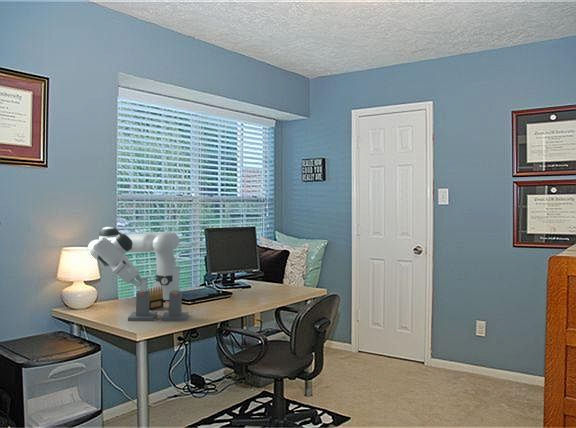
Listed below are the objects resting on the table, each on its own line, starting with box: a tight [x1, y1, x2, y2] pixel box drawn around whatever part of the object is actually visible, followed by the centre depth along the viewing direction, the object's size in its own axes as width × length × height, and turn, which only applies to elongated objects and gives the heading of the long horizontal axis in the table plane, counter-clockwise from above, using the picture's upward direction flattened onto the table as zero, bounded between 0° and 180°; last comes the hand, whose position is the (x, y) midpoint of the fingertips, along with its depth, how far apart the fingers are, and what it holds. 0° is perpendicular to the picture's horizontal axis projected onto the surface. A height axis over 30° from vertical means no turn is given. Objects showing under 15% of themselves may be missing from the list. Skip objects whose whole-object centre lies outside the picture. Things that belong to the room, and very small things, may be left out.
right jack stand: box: [160, 265, 189, 322], centre depth 253 cm, size 12×12×26 cm
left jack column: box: [139, 277, 148, 293], centre depth 252 cm, size 3×3×17 cm
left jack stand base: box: [127, 290, 158, 322], centre depth 252 cm, size 12×12×13 cm
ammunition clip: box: [147, 286, 164, 311], centre depth 272 cm, size 11×2×12 cm, turn 146°
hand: (141, 284), depth 251 cm, fingers open, 8 cm apart
